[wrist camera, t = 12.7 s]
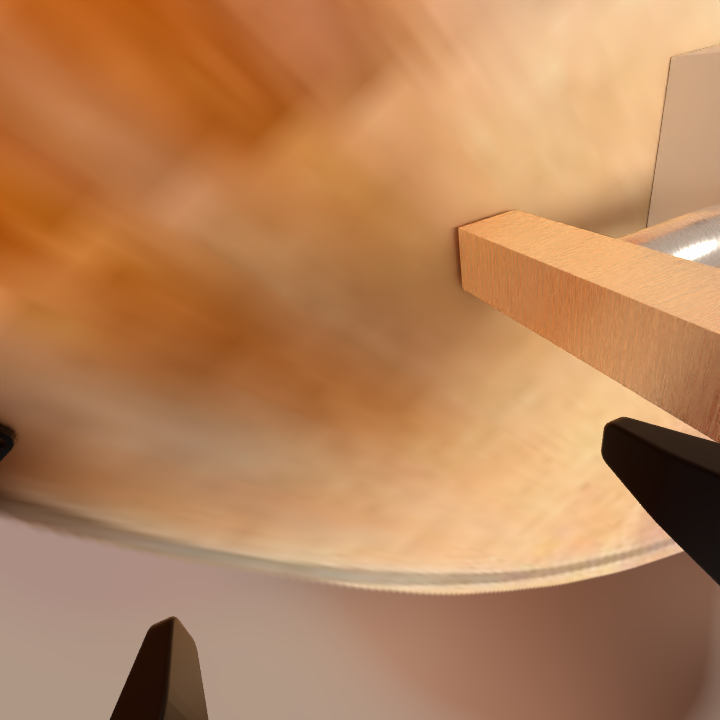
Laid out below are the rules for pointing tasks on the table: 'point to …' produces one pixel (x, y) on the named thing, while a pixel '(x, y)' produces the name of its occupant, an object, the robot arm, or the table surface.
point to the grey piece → (613, 300)
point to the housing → (689, 138)
